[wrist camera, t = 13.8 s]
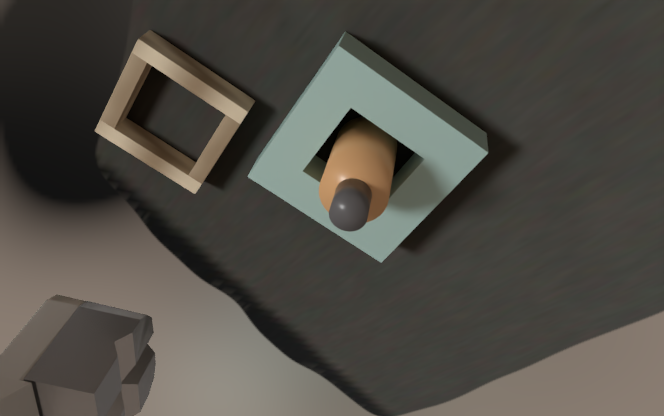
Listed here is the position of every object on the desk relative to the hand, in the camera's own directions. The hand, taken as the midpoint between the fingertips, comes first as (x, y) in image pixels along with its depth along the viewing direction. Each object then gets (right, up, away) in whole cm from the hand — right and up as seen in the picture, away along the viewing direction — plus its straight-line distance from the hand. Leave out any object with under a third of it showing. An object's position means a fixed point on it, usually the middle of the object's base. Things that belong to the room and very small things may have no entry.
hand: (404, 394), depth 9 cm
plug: (+1, +8, +36) cm, 37 cm away
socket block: (+1, +8, +36) cm, 37 cm away
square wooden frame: (-13, +10, +37) cm, 41 cm away
